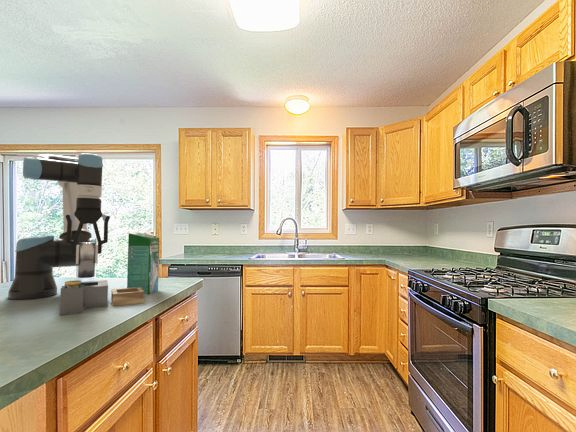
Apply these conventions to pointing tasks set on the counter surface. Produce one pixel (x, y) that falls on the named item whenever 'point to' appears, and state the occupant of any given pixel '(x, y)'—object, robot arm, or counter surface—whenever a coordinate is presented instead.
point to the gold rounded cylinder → (72, 284)
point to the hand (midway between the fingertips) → (86, 263)
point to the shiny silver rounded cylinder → (86, 260)
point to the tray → (127, 296)
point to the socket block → (83, 297)
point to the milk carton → (143, 262)
